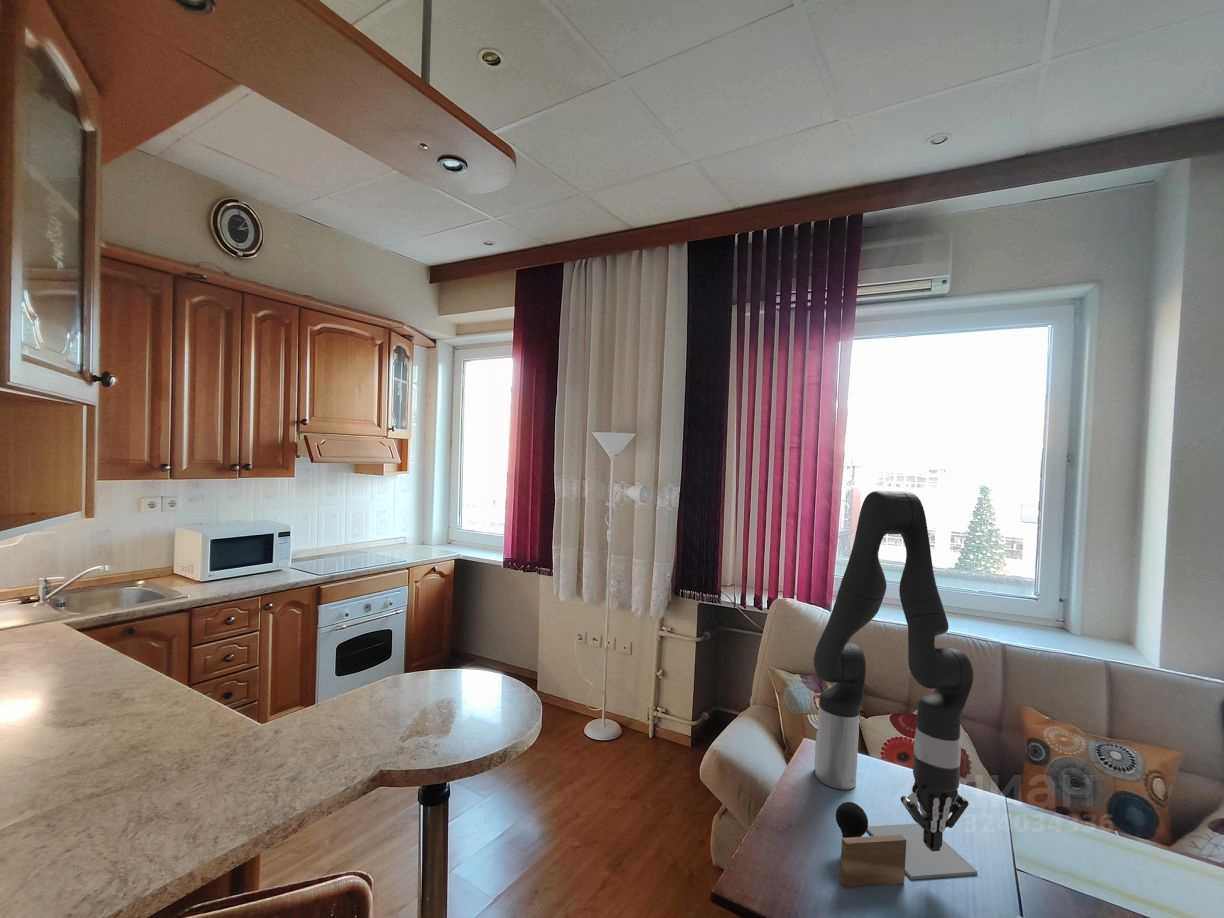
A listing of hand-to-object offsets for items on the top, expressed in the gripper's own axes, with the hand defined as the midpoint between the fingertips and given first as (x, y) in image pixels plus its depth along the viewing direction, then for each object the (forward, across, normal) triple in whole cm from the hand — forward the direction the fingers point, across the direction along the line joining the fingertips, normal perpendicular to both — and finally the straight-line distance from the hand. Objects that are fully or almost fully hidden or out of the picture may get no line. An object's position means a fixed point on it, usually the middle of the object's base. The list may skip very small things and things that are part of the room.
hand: (932, 848), depth 103 cm
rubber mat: (+6, -3, -7) cm, 10 cm away
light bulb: (+6, +12, -7) cm, 15 cm away
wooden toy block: (+6, +12, 0) cm, 13 cm away
